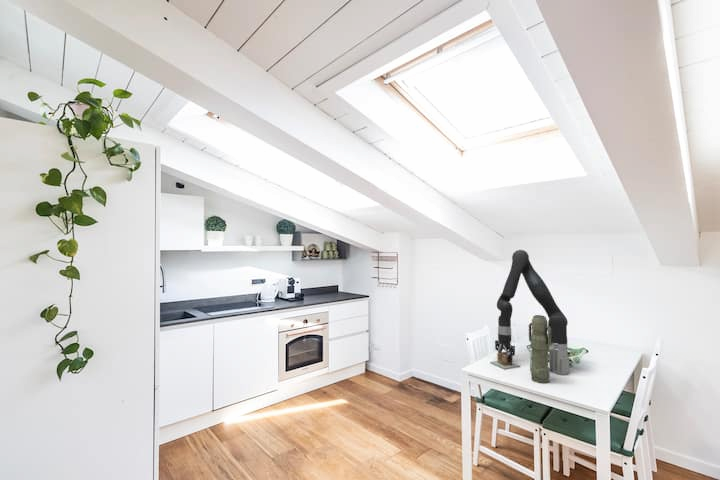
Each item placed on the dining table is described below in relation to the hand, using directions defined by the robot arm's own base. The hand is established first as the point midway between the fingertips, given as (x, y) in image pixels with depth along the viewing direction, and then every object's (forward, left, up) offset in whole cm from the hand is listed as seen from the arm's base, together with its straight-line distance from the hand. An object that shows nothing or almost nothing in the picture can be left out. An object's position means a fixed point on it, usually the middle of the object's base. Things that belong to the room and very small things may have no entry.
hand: (504, 359), depth 211 cm
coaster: (0, 0, -3) cm, 3 cm away
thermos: (-25, 0, -3) cm, 26 cm away
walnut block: (0, 0, -2) cm, 2 cm away
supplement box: (-14, -11, -3) cm, 18 cm away
